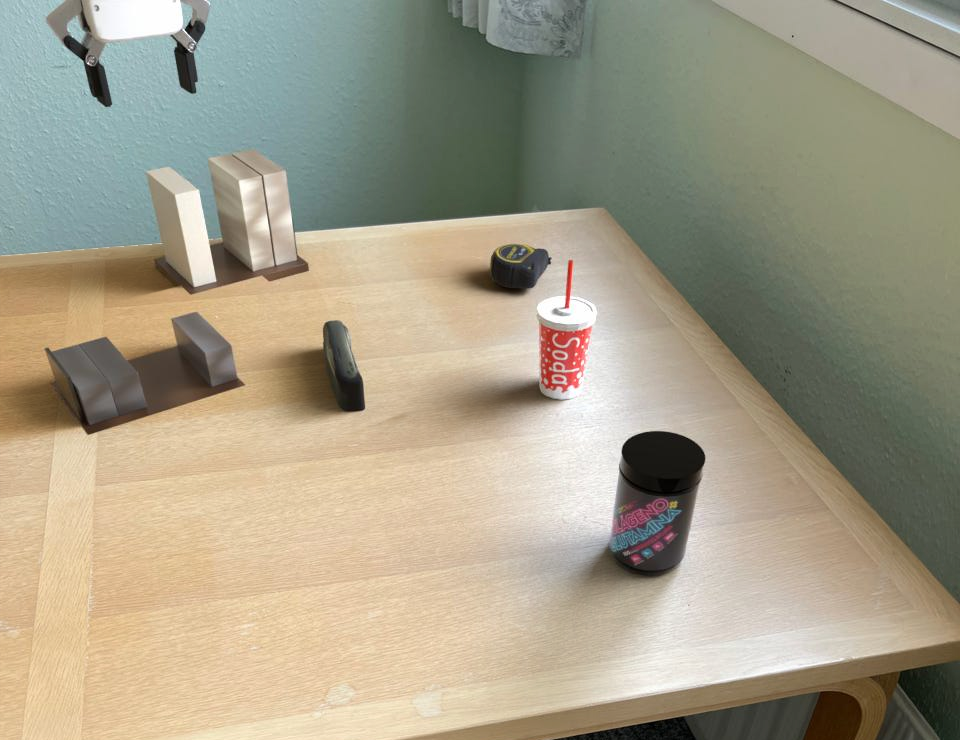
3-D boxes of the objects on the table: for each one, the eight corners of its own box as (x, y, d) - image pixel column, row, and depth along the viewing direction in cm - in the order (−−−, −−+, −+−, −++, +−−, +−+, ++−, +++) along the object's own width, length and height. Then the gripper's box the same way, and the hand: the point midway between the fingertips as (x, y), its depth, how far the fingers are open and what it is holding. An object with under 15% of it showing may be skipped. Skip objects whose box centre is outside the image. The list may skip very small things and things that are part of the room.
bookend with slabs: (192, 302, 117) (170, 201, 108) (155, 266, 123) (132, 169, 115) (309, 270, 123) (297, 172, 115) (267, 238, 130) (253, 144, 121)
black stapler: (367, 376, 95) (340, 305, 105) (337, 380, 95) (313, 309, 105) (370, 419, 99) (344, 346, 109) (341, 423, 98) (317, 350, 108)
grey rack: (90, 443, 95) (73, 389, 91) (52, 390, 102) (34, 338, 98) (247, 393, 102) (237, 341, 98) (202, 347, 109) (191, 296, 105)
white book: (193, 287, 117) (174, 195, 109) (165, 261, 122) (145, 171, 114) (216, 281, 118) (199, 189, 110) (187, 255, 123) (169, 166, 116)
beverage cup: (523, 395, 102) (529, 267, 92) (545, 369, 106) (553, 243, 96) (577, 408, 100) (589, 279, 90) (596, 381, 104) (610, 254, 94)
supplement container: (594, 539, 85) (606, 440, 78) (660, 522, 87) (678, 423, 80) (629, 586, 81) (646, 486, 73) (698, 568, 83) (722, 468, 75)
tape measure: (533, 298, 118) (535, 268, 116) (481, 288, 120) (482, 259, 117) (550, 275, 123) (552, 246, 120) (500, 266, 124) (501, 238, 122)
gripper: (178, -107, 100) (206, 77, 112) (8, -96, 92) (58, 99, 105) (207, -95, 95) (233, 94, 108) (31, -83, 88) (81, 118, 100)
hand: (147, 96), depth 106 cm, fingers open, 9 cm apart
